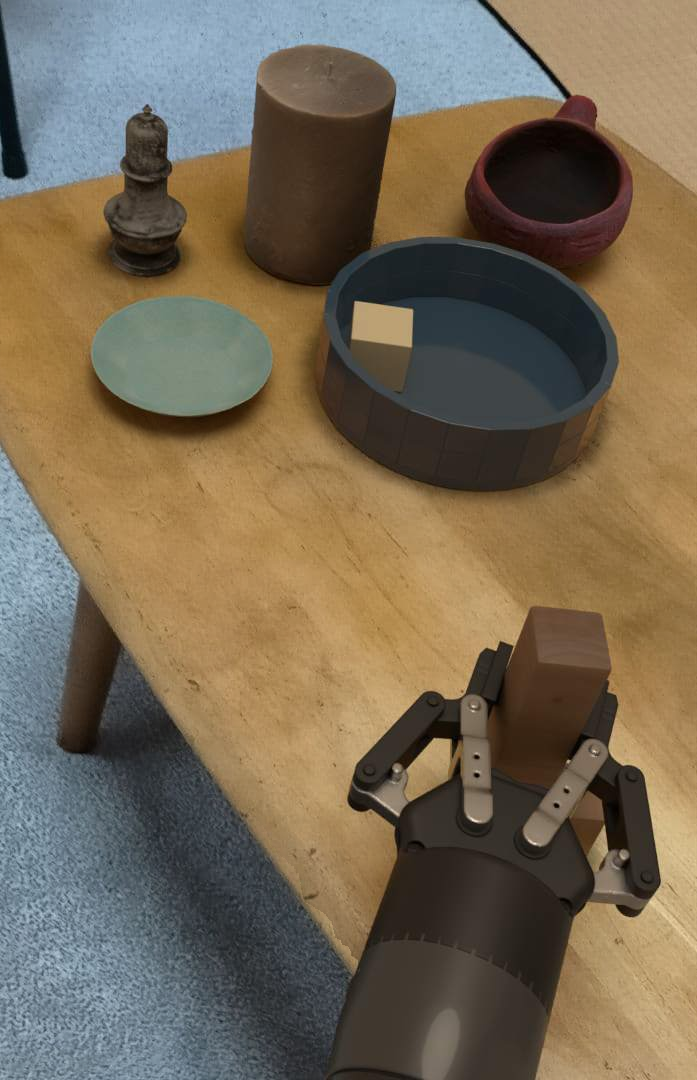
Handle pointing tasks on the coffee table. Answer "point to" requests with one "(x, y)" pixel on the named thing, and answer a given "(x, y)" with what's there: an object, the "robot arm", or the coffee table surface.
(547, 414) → the bowl
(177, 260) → the salt shaker
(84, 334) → the coffee table surface
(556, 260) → the bowl
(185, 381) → the saucer
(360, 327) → the cube
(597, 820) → the wooden block
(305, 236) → the pillar candle
